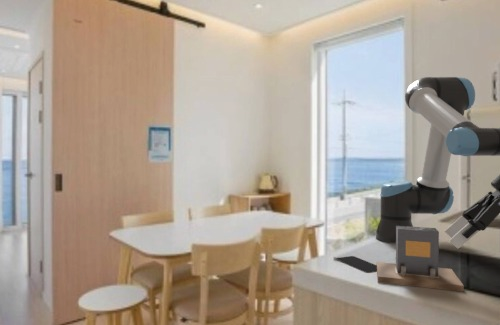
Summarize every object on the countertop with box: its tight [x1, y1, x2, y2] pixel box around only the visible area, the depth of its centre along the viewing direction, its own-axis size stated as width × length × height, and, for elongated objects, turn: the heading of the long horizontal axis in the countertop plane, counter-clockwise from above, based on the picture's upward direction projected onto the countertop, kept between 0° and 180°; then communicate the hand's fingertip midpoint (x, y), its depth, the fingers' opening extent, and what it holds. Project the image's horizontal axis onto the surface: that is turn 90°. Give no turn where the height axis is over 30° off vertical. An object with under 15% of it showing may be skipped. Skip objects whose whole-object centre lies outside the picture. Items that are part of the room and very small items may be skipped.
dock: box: [376, 261, 465, 292], centre depth 97 cm, size 20×14×4 cm
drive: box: [395, 226, 440, 277], centre depth 97 cm, size 10×5×12 cm, turn 72°
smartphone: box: [336, 255, 377, 274], centre depth 110 cm, size 7×1×15 cm
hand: (450, 239), depth 96 cm, fingers open, 13 cm apart
